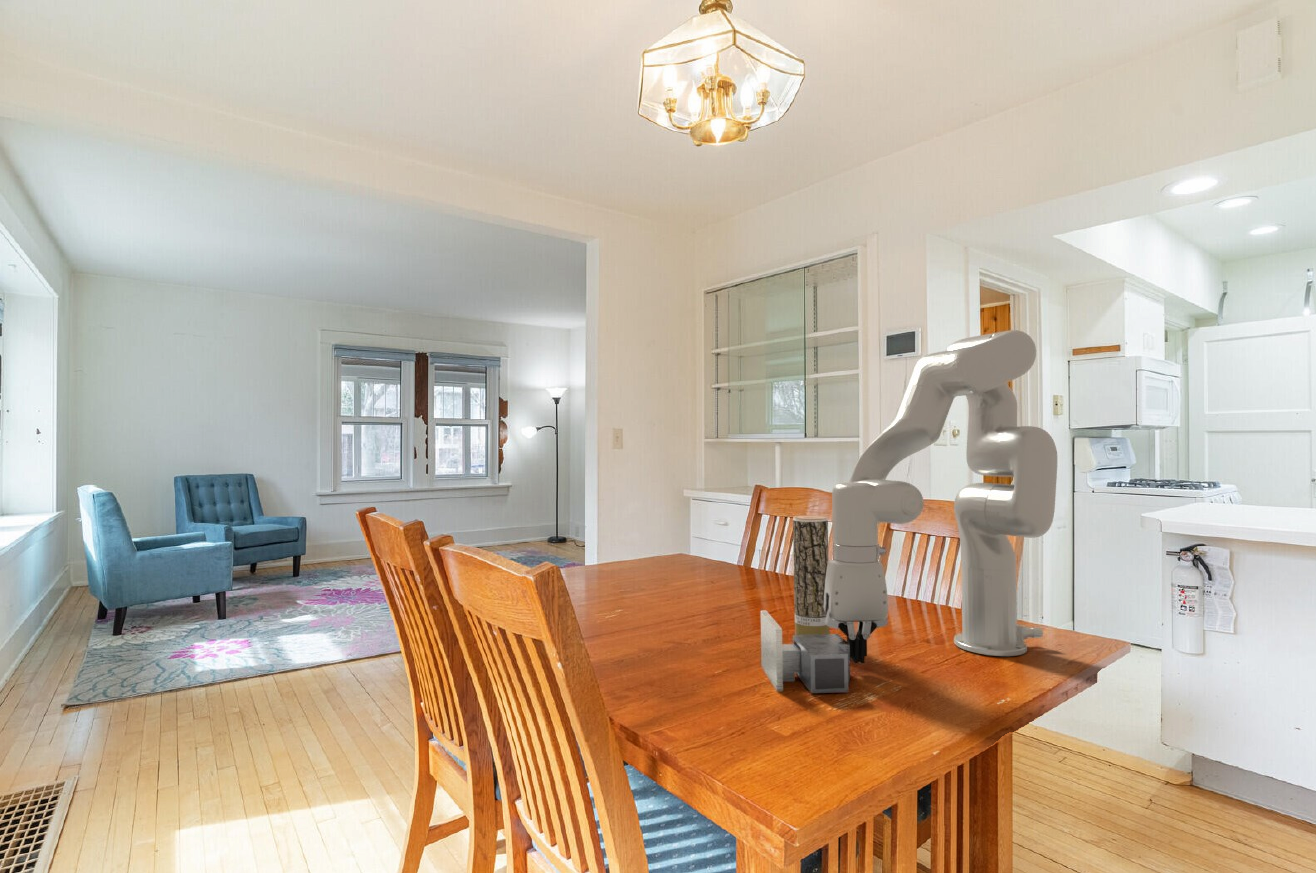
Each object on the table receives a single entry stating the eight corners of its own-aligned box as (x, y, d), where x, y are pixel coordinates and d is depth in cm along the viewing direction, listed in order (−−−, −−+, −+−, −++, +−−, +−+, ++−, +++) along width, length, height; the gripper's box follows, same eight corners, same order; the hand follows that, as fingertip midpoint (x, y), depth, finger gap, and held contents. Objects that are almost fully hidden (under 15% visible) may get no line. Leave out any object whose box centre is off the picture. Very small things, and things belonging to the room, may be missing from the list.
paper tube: (831, 648, 127) (828, 519, 127) (795, 646, 128) (793, 519, 129) (829, 638, 133) (826, 515, 134) (795, 636, 135) (792, 515, 135)
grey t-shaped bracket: (823, 664, 118) (822, 608, 118) (845, 689, 106) (844, 627, 106) (761, 666, 117) (760, 610, 117) (776, 691, 105) (775, 629, 105)
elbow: (838, 668, 115) (837, 633, 115) (861, 692, 104) (860, 654, 104) (793, 669, 114) (792, 635, 115) (811, 693, 103) (810, 655, 103)
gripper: (888, 550, 117) (890, 652, 117) (806, 551, 117) (808, 655, 116) (907, 557, 110) (908, 666, 110) (819, 558, 109) (820, 669, 109)
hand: (857, 660), depth 113 cm, fingers closed
